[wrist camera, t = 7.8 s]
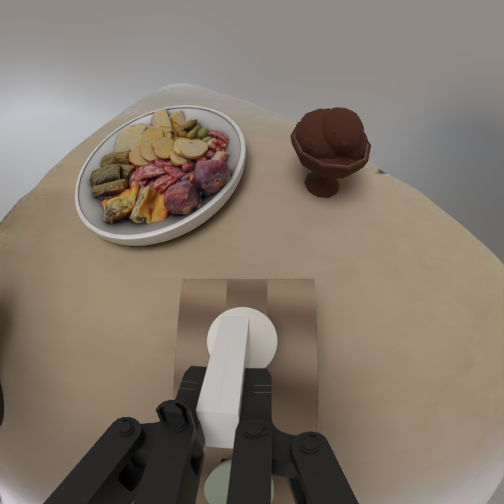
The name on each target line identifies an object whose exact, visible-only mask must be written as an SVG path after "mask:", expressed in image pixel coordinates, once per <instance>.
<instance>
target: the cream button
mask: <svg viewBox="0 0 504 504" xmlns="http://www.w3.org/2000/svg"><path fill="white" fill-rule="evenodd" d="M221 316H249V328H250V365H249V368H266V367H267V366H268V365H269V363H270V362H271V361H272V359H273V357H274V355H275V352H276V348H277V333H276V330H275V327H274V325H273V324H272V322H271V321H270V320H269V318H268V317H267V316H265V315H264V314H263V313H261V312H260V311H258V310H255V309H252V308H248V307H237V308H232V309H229V310H227V311H225V312H223V313H222V314H221V315H219V316H218V317H217V318H216V319H215V320H214V322H213V323H212V325H211V327H210V329H209V332H208V336H207V346H208V351H209V354H210V356H211V352H212V348H213V345H214V341H215V337H216V334H217V330H218V326H219V323H220V319H221Z"/></svg>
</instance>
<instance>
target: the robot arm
mask: <svg viewBox="0 0 504 504" xmlns="http://www.w3.org/2000/svg"><path fill="white" fill-rule="evenodd" d="M249 365H250V328H249V316H221V319H220V323H219V326H218V330H217V334H216V337H215V341H214V345H213V348H212V352H211V356H210V359H209V363H208V367H202V366H190V367H189V368H188V370H187V371H186V372H185V373H184V375H183V378H182V382H181V384H180V387H179V390H178V392H177V395H176V398H175V400H168V401H165V402H163V403H161V404H160V405H159V406H158V407H157V409H156V412H157V414H158V416H159V419H160V421H159V422H156V423H146V424H140V423H139V422H138V421H137V420H136V419H134V418H131V417H122V418H119V419H117V420H116V421H115V422H113V423H112V425H111V426H110V427H109V428H108V429H107V430H106V432H105V433H104V434H103V435H102V436H101V437H100V439H99V440H98V441H97V442H96V443H95V444H94V446H93V447H92V448H91V449H90V450H89V451H88V453H87V454H86V455H85V456H84V457H83V458H82V460H81V461H80V462H79V463H78V464H77V465H76V466H75V468H74V469H73V470H72V471H71V472H70V473H69V475H68V476H67V477H66V478H65V479H64V480H63V482H62V483H61V484H60V485H59V486H58V487H57V488H56V490H55V491H54V492H53V493H52V494H51V495H50V497H49V498H48V499H47V500H46V501H45V502H44V503H43V504H132V502H133V501H134V499H135V501H134V504H196V498H197V493H198V488H199V483H200V477H201V472H202V467H203V462H204V451H203V447H204V443H205V444H206V446H209V447H219V448H232V449H233V454H232V462H231V470H230V478H229V486H228V494H227V502H226V504H271V476H272V474H273V475H277V476H281V477H285V478H287V481H288V484H289V486H290V489H291V492H292V495H293V498H294V501H295V504H359V503H358V501H357V499H356V497H355V495H354V493H353V491H352V489H351V487H350V485H349V483H348V481H347V479H346V477H345V475H344V473H343V471H342V469H341V467H340V465H339V463H338V461H337V459H336V457H335V455H334V453H333V451H332V449H331V447H330V445H329V443H328V441H327V439H326V438H325V437H324V436H323V435H321V434H320V433H317V432H312V431H309V432H303V433H300V434H298V435H297V436H296V435H292V434H288V433H285V432H282V431H280V430H279V429H277V428H276V427H275V426H274V424H273V422H272V376H271V374H270V373H269V371H268V369H267V368H249ZM2 418H3V397H2V391H1V386H0V424H1V422H2Z"/></svg>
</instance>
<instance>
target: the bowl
mask: <svg viewBox="0 0 504 504" xmlns="http://www.w3.org/2000/svg"><path fill="white" fill-rule="evenodd" d="M245 160H246V146H245V140H244V136H243V134H242V132H241V130H240V128H239V127H238V125H237V124H236V123H235V122H234V121H233V120H232V119H231V118H230V117H228V116H227V115H225V114H223V113H221V112H219V111H217V110H214V109H211V108H207V107H202V106H193V105H181V106H172V107H166V108H161V109H157V110H154V111H151V112H148V113H145V114H143V115H140V116H138V117H136V118H134V119H132V120H130V121H128V122H127V123H125V124H123V125H122V126H120V127H119V128H117V129H116V130H114V131H113V132H112V133H111V134H109V135H108V136H107V137H106V138H105V139H104V140H103V141H102V142H101V143H100V144H99V145H98V146H97V147H96V148H95V149H94V150H93V152H92V153H91V154H90V156H89V157H88V159H87V160H86V162H85V163H84V165H83V167H82V169H81V171H80V174H79V176H78V180H77V183H76V188H75V204H76V209H77V212H78V214H79V216H80V218H81V220H82V221H83V223H84V224H85V225H86V226H87V227H88V228H89V229H90V230H91V231H92V232H94V233H95V234H96V235H98V236H99V237H101V238H103V239H105V240H107V241H110V242H113V243H117V244H121V245H130V246H142V245H151V244H156V243H161V242H164V241H168V240H171V239H174V238H176V237H179V236H181V235H183V234H185V233H187V232H189V231H191V230H193V229H195V228H196V227H198V226H199V225H201V224H202V223H204V222H205V221H206V220H208V219H209V218H210V217H212V216H213V215H214V214H215V213H216V212H217V211H218V210H219V209H220V208H221V207H222V206H223V205H224V204H225V203H226V202H227V200H228V199H229V198H230V196H231V195H232V194H233V192H234V190H235V189H236V187H237V185H238V183H239V181H240V179H241V176H242V174H243V170H244V167H245Z"/></svg>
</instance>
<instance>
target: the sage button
mask: <svg viewBox="0 0 504 504" xmlns="http://www.w3.org/2000/svg"><path fill="white" fill-rule="evenodd" d="M231 462H232V459H226V461H224V462H222V463H220V464H218V465H217V466H216V467H215V468H214V469H213V471H212V472H211V474H210V475H209V477H208V478H207V480H206V482H205V485H204V494H205V497H206V500H207V501H208V503H209V504H226V502H227V494H228V486H229V478H230V470H231ZM273 497H274V486H273V478H272V476H271V502H272V500H273Z"/></svg>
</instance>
